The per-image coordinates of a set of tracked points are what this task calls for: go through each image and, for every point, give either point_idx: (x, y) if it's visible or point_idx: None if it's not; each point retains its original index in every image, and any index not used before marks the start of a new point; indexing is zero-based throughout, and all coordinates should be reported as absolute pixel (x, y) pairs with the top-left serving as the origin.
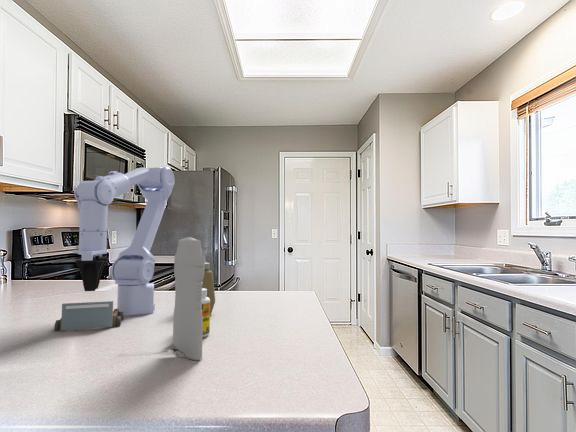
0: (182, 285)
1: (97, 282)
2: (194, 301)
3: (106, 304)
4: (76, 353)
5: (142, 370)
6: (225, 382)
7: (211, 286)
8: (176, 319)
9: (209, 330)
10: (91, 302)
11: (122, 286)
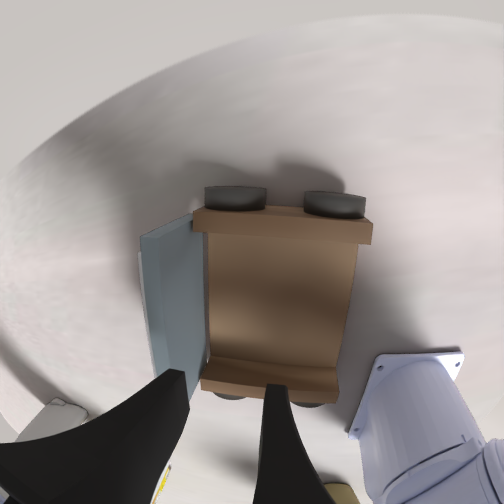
0: None
1: (259, 451)
2: None
3: None
4: (60, 272)
5: (17, 350)
6: (13, 394)
7: None
8: (38, 433)
9: None
10: (161, 359)
11: (412, 462)
